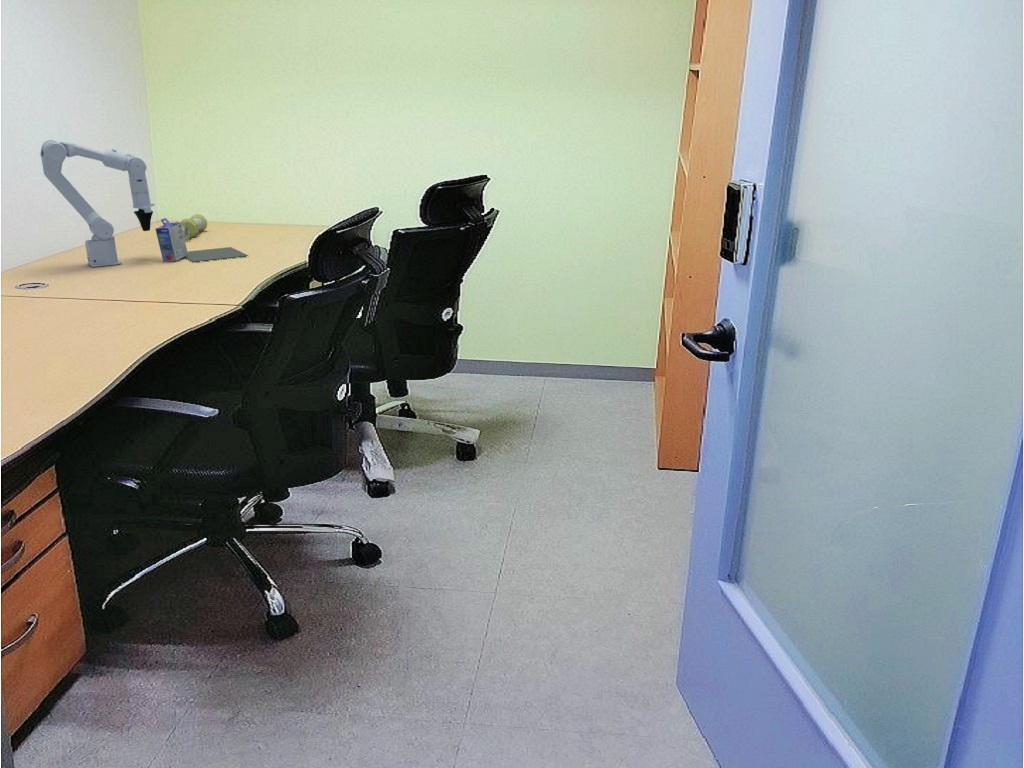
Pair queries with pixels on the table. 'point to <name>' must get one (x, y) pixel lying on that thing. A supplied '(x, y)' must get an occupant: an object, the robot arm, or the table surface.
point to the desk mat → (214, 254)
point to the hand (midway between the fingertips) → (146, 230)
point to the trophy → (193, 226)
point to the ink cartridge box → (171, 241)
